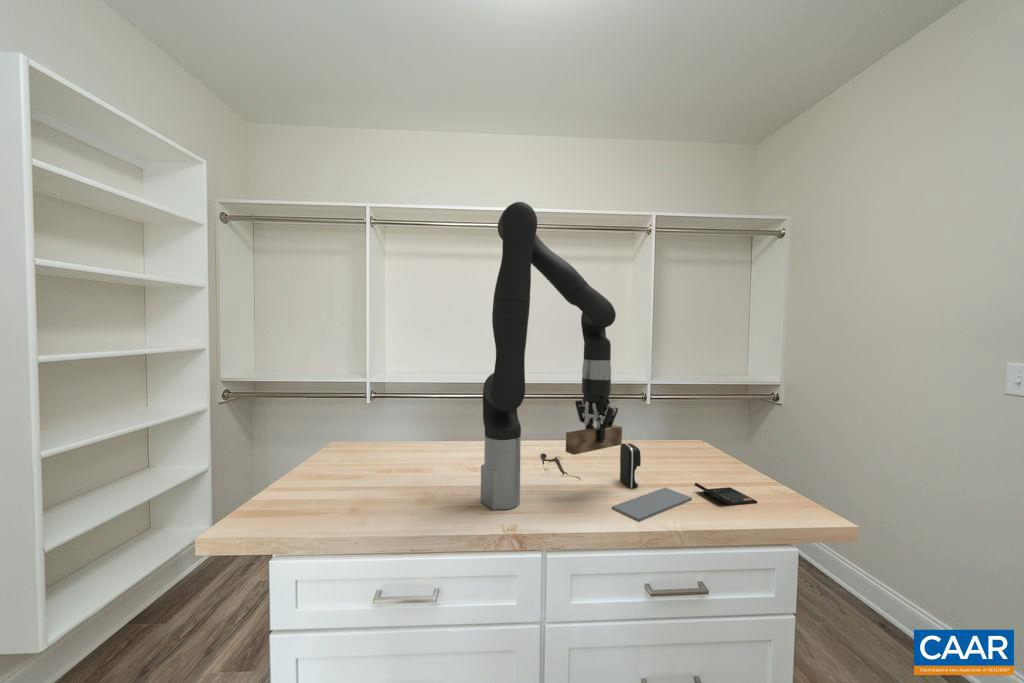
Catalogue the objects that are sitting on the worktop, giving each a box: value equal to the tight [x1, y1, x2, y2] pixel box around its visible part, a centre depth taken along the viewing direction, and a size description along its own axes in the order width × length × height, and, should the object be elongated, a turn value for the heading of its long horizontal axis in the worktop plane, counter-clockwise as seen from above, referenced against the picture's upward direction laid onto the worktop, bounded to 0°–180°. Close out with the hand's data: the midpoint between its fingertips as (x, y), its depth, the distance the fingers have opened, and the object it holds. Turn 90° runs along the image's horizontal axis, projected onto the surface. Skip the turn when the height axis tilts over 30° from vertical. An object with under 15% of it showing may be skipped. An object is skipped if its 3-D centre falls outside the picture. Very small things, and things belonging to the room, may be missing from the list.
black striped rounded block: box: [619, 443, 642, 489], centre depth 114 cm, size 7×4×11 cm, turn 7°
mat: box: [611, 487, 693, 522], centre depth 101 cm, size 22×8×1 cm, turn 125°
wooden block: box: [565, 423, 623, 456], centre depth 105 cm, size 18×3×5 cm, turn 124°
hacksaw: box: [539, 453, 581, 482], centre depth 128 cm, size 24×10×2 cm, turn 1°
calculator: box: [694, 482, 758, 507], centre depth 106 cm, size 9×12×3 cm
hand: (594, 440), depth 105 cm, fingers closed on wooden block, 3 cm apart
